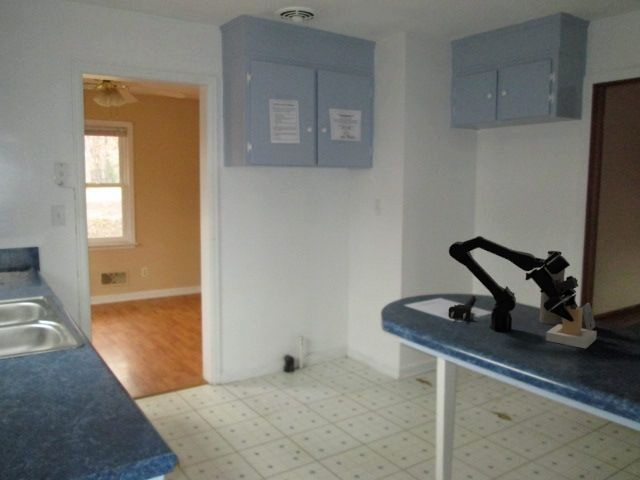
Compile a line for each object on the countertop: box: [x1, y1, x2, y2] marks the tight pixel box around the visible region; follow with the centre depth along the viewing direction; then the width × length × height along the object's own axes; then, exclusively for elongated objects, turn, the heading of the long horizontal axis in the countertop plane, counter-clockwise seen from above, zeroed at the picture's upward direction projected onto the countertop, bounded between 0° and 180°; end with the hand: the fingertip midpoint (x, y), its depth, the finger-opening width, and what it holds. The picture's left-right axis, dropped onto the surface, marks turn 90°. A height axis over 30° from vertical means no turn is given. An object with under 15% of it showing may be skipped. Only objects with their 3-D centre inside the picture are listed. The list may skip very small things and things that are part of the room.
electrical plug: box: [448, 295, 476, 321], centre depth 231 cm, size 9×42×5 cm, turn 156°
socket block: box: [545, 324, 598, 350], centre depth 191 cm, size 13×13×3 cm
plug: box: [561, 304, 583, 337], centre depth 190 cm, size 6×5×12 cm
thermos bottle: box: [539, 250, 566, 326], centre depth 211 cm, size 8×8×28 cm
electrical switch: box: [578, 302, 596, 330], centre depth 204 cm, size 9×5×9 cm, turn 141°
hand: (576, 318), depth 189 cm, fingers open, 9 cm apart
